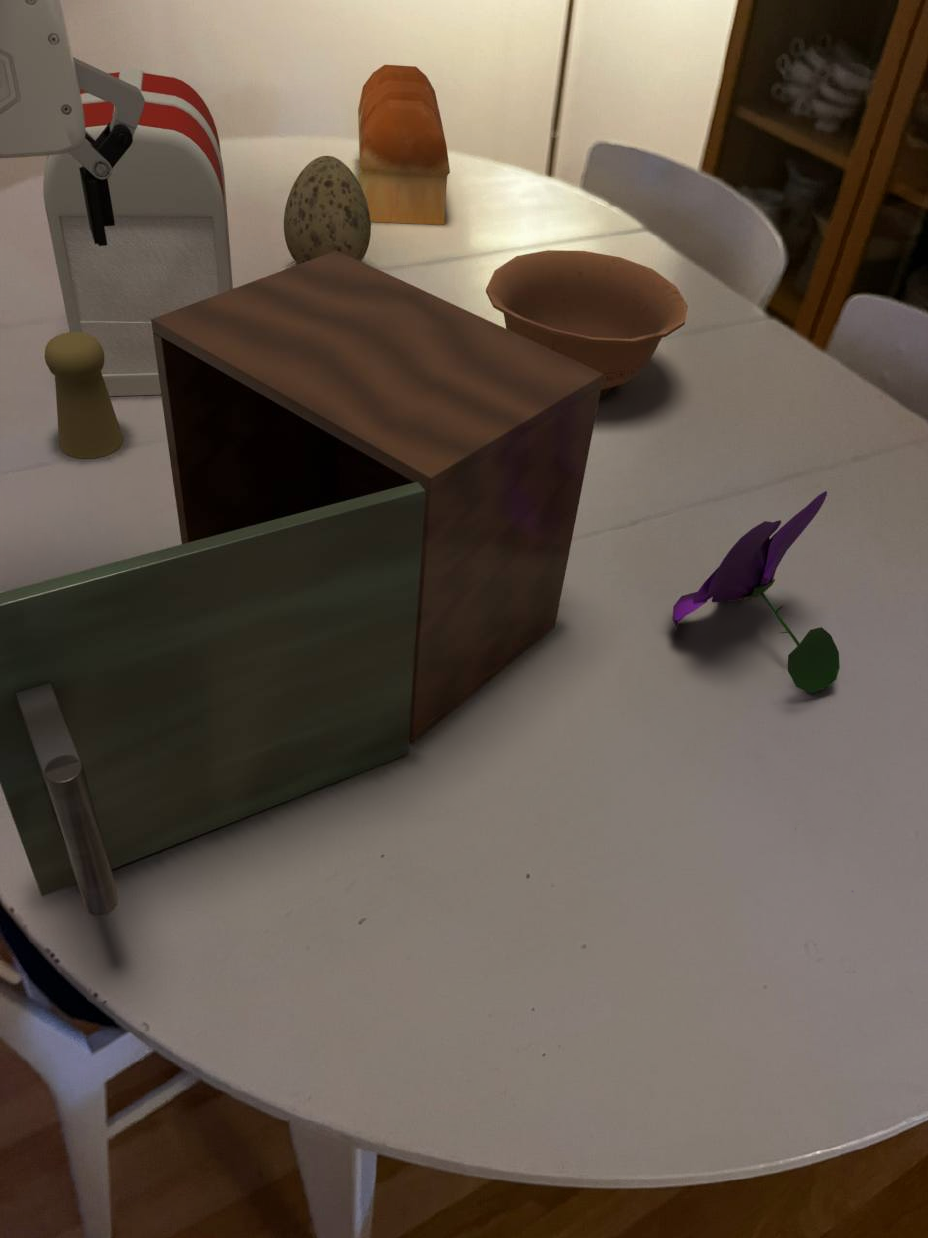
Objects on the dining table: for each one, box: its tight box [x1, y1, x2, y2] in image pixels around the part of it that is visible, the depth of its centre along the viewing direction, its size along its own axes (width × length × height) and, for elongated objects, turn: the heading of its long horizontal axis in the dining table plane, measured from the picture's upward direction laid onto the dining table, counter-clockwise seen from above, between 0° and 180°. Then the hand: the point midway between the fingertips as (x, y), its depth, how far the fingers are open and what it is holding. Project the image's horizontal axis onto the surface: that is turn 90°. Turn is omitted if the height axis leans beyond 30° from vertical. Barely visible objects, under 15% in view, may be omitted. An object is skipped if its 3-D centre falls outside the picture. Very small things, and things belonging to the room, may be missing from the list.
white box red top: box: [42, 68, 234, 397], centre depth 105 cm, size 16×18×27 cm
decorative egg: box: [283, 155, 372, 265], centre depth 127 cm, size 11×11×15 cm
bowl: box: [485, 249, 689, 398], centre depth 114 cm, size 22×22×11 cm
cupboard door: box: [0, 482, 425, 917], centre depth 60 cm, size 8×26×24 cm, turn 120°
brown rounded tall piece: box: [44, 331, 124, 459], centre depth 97 cm, size 6×6×11 cm
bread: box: [357, 64, 451, 226], centre depth 150 cm, size 25×12×15 cm, turn 5°
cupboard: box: [151, 251, 604, 745], centre depth 78 cm, size 18×26×24 cm
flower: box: [671, 490, 841, 694], centre depth 82 cm, size 15×15×14 cm
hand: (17, 243), depth 63 cm, fingers open, 9 cm apart
